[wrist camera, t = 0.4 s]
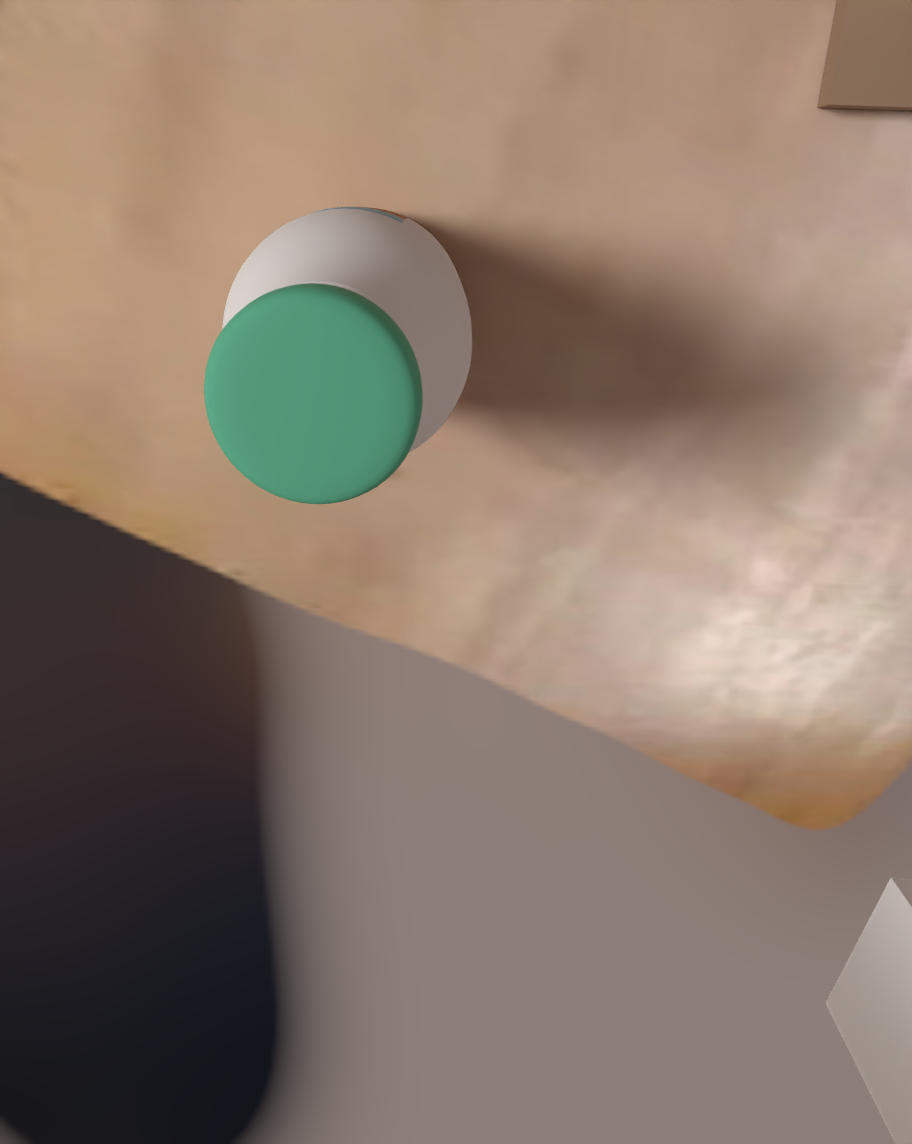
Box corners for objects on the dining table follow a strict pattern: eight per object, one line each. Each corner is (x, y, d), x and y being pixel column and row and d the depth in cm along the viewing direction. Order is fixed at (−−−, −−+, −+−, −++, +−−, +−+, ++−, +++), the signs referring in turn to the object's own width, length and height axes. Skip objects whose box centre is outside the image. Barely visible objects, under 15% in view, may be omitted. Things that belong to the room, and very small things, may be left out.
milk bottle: (478, 230, 34) (536, 248, 15) (443, 408, 37) (456, 600, 18) (296, 190, 33) (125, 158, 14) (275, 375, 36) (114, 543, 18)
